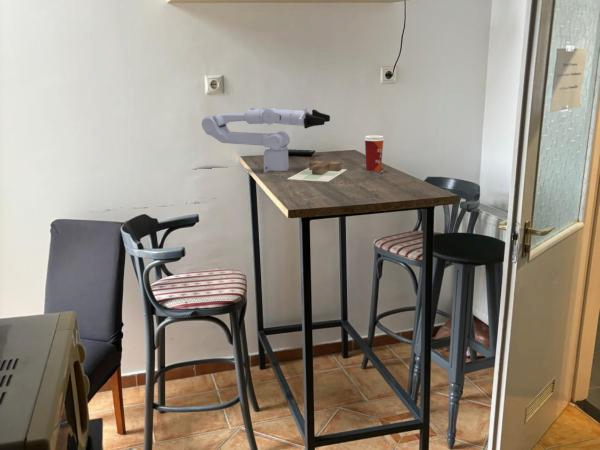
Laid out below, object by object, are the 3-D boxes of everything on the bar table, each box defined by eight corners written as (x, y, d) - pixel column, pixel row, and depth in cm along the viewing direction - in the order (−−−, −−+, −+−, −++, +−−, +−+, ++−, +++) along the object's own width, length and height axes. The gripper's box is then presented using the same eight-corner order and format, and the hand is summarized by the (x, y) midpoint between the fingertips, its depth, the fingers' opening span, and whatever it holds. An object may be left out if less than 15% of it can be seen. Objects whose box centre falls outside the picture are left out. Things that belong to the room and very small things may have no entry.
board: (286, 181, 218) (286, 179, 218) (308, 169, 239) (308, 167, 239) (328, 184, 212) (328, 181, 212) (347, 171, 234) (347, 169, 234)
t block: (302, 173, 227) (302, 165, 226) (312, 168, 237) (312, 160, 237) (332, 175, 223) (332, 167, 222) (341, 169, 233) (341, 162, 233)
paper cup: (382, 174, 229) (383, 137, 225) (362, 173, 230) (363, 137, 226) (384, 170, 236) (384, 135, 232) (364, 169, 238) (365, 134, 234)
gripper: (287, 110, 221) (322, 112, 217) (299, 104, 234) (332, 106, 230) (286, 128, 223) (321, 131, 219) (298, 122, 236) (331, 124, 232)
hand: (327, 120), depth 225 cm, fingers open, 7 cm apart
